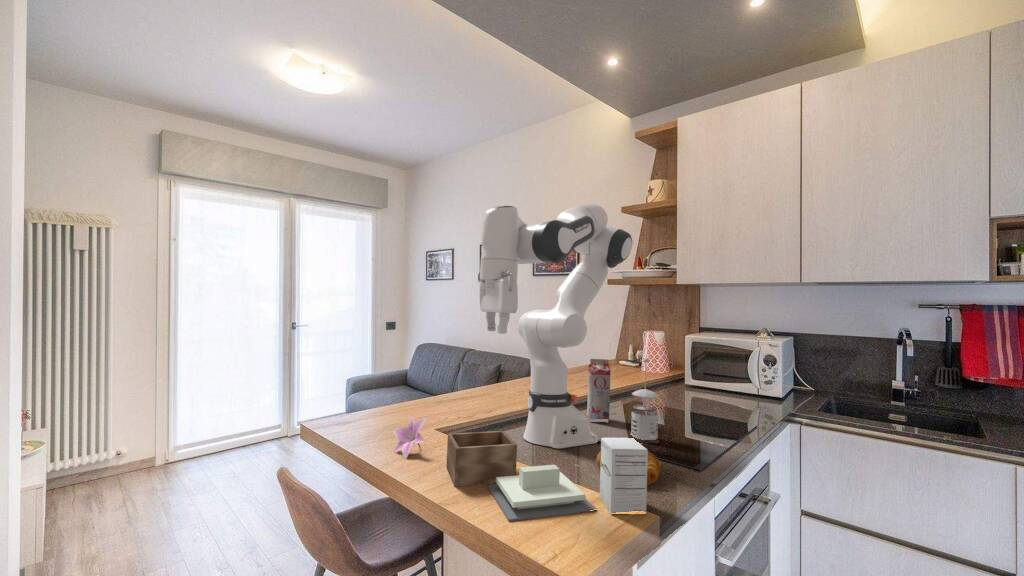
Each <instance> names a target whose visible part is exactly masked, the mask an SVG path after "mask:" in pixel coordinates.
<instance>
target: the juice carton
mask: <svg viewBox="0 0 1024 576" xmlns="http://www.w3.org/2000/svg"><path fill="white" fill-rule="evenodd" d="M589 361H590V362H589V365H588V371H587V372H588V375H587V377H588V378H587V404H586V405H587V410H586V411H587V412H586V416H587V415H588V416H589V418H590V419H609V420H610V406H611V405H610V404H611V403H610V402H611V401H610V400H611V396H610V395H611V367H610V362H609V361H610V360H609V359H605V358H604V359H603V358H590V359H589Z"/></svg>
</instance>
